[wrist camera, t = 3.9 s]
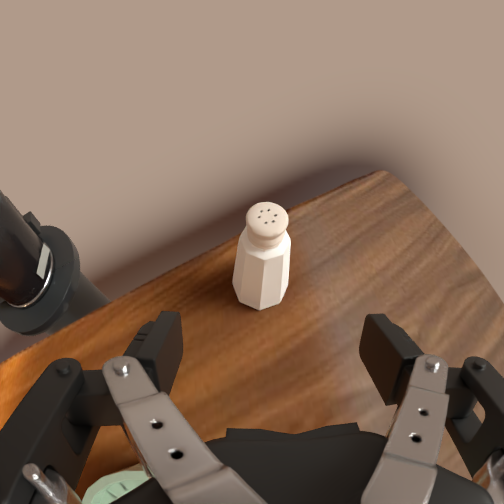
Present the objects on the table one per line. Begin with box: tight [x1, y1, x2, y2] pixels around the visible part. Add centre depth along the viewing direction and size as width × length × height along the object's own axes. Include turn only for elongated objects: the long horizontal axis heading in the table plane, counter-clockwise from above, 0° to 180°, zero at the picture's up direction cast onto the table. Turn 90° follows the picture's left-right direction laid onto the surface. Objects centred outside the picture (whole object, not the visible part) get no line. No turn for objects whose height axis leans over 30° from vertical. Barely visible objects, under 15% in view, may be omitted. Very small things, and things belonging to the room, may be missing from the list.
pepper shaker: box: [232, 202, 291, 310], centre depth 24 cm, size 5×5×11 cm
